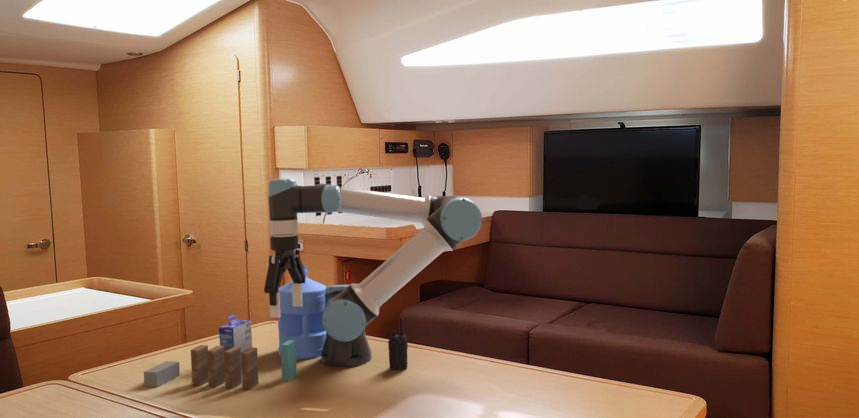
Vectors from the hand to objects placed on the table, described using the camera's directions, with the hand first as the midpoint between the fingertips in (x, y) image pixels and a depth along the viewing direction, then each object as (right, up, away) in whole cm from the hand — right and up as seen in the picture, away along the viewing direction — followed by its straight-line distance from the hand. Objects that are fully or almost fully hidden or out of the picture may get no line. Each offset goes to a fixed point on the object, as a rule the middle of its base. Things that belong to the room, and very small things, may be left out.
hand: (286, 311), depth 183 cm
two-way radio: (+31, -18, +6) cm, 36 cm away
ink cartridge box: (-18, -18, +16) cm, 31 cm away
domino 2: (-18, -19, -4) cm, 27 cm away
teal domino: (+1, -19, +1) cm, 19 cm away
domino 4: (-8, -19, -6) cm, 22 cm away
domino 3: (-13, -19, -5) cm, 24 cm away
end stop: (-35, -19, 0) cm, 40 cm away
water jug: (0, -17, +25) cm, 30 cm away
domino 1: (-23, -19, -2) cm, 30 cm away
